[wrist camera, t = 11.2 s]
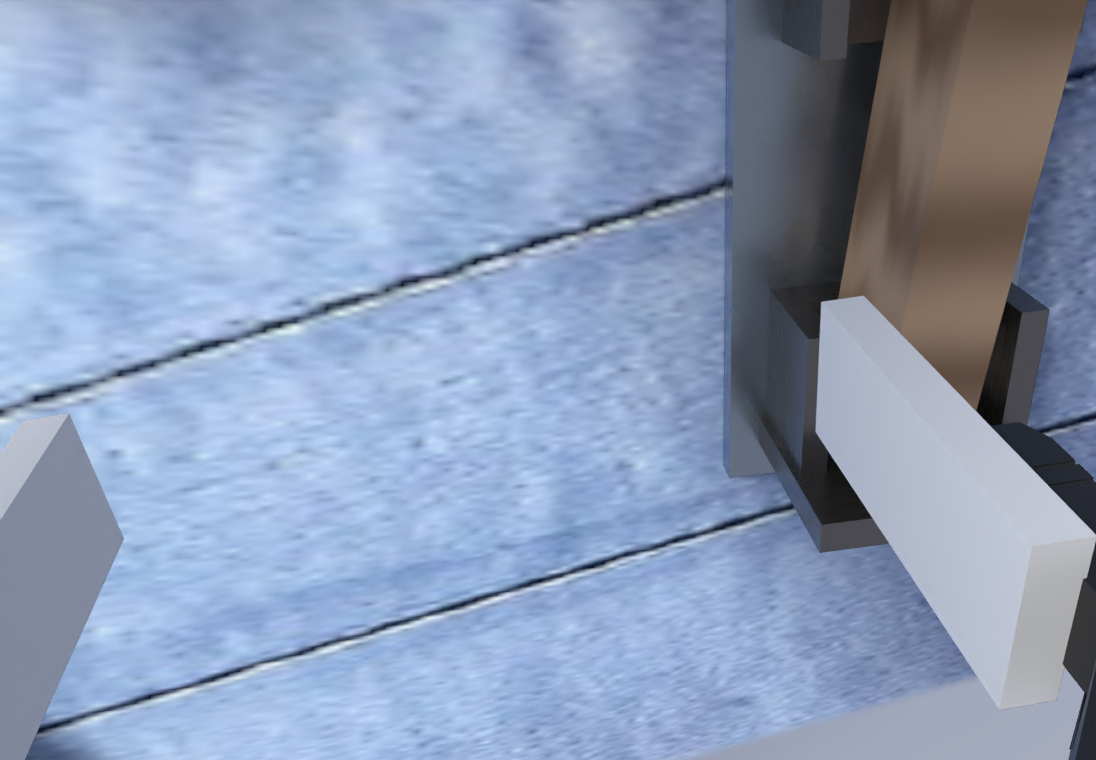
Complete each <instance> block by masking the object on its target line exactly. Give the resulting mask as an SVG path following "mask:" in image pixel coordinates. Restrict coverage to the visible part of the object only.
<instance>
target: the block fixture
mask: <svg viewBox="0 0 1096 760" xmlns="http://www.w3.org/2000/svg"><path fill="white" fill-rule="evenodd" d="M890 5H891V0H727V49H726V188H725V326H724V464H723V465H724V468H725V470H726V472H727V474H728V476H729V478H736V477H743V476H751V475H759V474H766V473H774V472H775V473H776V475H777V476H778V478H779V480H780V482H781V484H782V485H783V487H784V489H785V491H786V493H787V495H788V496H789V498H790V500H791V502H792V504H793V505H794V507H795V509H796V511H797V513H798V514H799V516H800V518H801V520H802V522H803V523H804V525H805V527H806V529H807V531H808V532H809V534H810V536H811V538H812V540H813V541H814V543H815V545H816V547H817V549H818V550H819V552H820V553H822V552H829V551H836V550H844V549H851V548H859V547H866V546H874V545H881V544H889V542H888V541H887V539H886V538H885V536H884V535H883V533H882V532H881V530H880V529H879V527H878V526H877V524H876V523H875V521H874V520H873V518H872V517H871V515H870V514H869V512H868V511H867V509H866V508H865V506H864V505H863V503H862V502H861V500H860V498H859V497H858V495H857V494H856V492H855V491H854V489H853V488H852V486H851V485H850V483H849V482H848V480H847V479H846V477H845V476H844V474H843V473H842V471H841V470H840V468H839V467H838V465H837V464H836V462H835V461H834V459H833V458H832V456H831V455H830V453H829V452H828V450H827V449H826V447H825V445H824V444H823V442H822V441H821V439H820V438H819V436H818V435H817V433H816V409H817V387H818V364H819V341H820V319H821V302H824V301H831V300H838V297H839V292H840V286H841V281H842V275H843V269H844V264H845V258H846V252H847V247H848V241H849V235H850V230H851V224H852V219H853V213H854V207H855V202H856V196H857V190H858V185H859V179H860V174H861V168H862V162H863V157H864V151H865V145H866V140H867V134H868V128H869V123H870V117H871V112H872V106H873V100H874V95H875V89H876V83H877V78H878V72H879V66H880V61H881V55H882V50H883V44H884V38H885V33H886V27H887V21H888V16H889V10H890ZM1084 14H1085V13H1084ZM1083 20H1084V17H1083ZM1083 20H1082V24H1081V28H1080V31H1079V33H1080V32H1081V31H1082V25H1083ZM1030 212H1031V211H1030ZM1029 218H1030V215H1029ZM1028 224H1029V219H1028V222H1027V226H1026V230H1025V233H1024V237H1023V241H1022V244H1021V248H1020V252H1019V255H1018V259H1017V263H1016V266H1015V270H1014V274H1013V277H1012V281H1011V285H1010V288H1009V292H1008V296H1007V299H1006V303H1005V307H1004V311H1003V314H1002V318H1001V322H1000V325H999V329H998V333H997V336H996V340H995V344H994V347H993V351H992V355H991V358H990V362H989V366H988V369H987V373H986V377H985V380H984V384H983V388H982V391H981V395H980V399H979V402H978V406H977V410H976V412H977V413H978V414H979V415H980V416H981V417H982V418H983V419H984V420H985V421H986V422H987V423H988V424H989V425H990V426H995V425H1001V424H1007V423H1014V422H1020V423H1022V424H1024V425H1026V426H1027V423H1028V418H1029V412H1030V407H1031V402H1032V397H1033V392H1034V387H1035V382H1036V377H1037V371H1038V366H1039V361H1040V356H1041V351H1042V346H1043V341H1044V336H1045V330H1046V325H1047V320H1048V315H1049V310H1050V309H1048V308H1047V307H1045V306H1044V305H1043V304H1041V303H1040V302H1038V301H1037V300H1036V299H1034V298H1033V297H1032V296H1030V295H1029V294H1027V293H1026V292H1025V291H1023V290H1022V289H1020V288H1019V287H1018V281H1019V275H1020V270H1021V264H1022V258H1023V252H1024V247H1025V241H1026V235H1027V230H1028Z"/></svg>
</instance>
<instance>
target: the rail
mask: <svg viewBox="0 0 1096 760" xmlns="http://www.w3.org/2000/svg"><path fill="white" fill-rule="evenodd" d="M1087 2H1088V0H891V5H890V10H889V16H888V21H887V27H886V33H885V38H884V44H883V50H882V55H881V61H880V66H879V72H878V78H877V83H876V89H875V95H874V100H873V106H872V112H871V117H870V123H869V128H868V134H867V140H866V145H865V151H864V157H863V162H862V168H861V174H860V179H859V185H858V190H857V196H856V202H855V207H854V213H853V219H852V224H851V230H850V235H849V241H848V247H847V252H846V258H845V264H844V269H843V275H842V281H841V286H840V292H839V297H838V299H845V298H851V297H858V296H864V297H865V298H866V299H867V300H868V301H869V302H870V303H871V304H872V305H873V306H874V307H875V308H876V309H877V310H878V311H879V312H880V313H881V314H882V315H883V316H884V317H885V318H886V319H887V320H888V321H889V322H890V323H891V324H892V325H893V326H894V327H895V328H896V329H897V331H898V332H899V333H900V334H901V335H902V336H903V337H904V338H905V339H906V340H907V341H908V342H909V343H910V344H911V345H912V346H913V347H914V348H915V349H916V350H917V351H918V352H919V353H920V354H921V355H922V356H923V357H924V358H925V359H926V360H927V361H928V362H929V363H930V364H931V366H932V367H933V368H934V369H935V370H936V371H937V372H938V373H939V374H940V375H941V376H942V377H943V378H944V379H945V380H946V381H947V382H948V383H949V384H950V385H951V386H952V387H953V388H954V389H955V390H956V391H957V392H958V393H959V394H960V395H961V396H962V397H963V398H964V399H965V401H966V402H967V403H968V404H969V405H970V406H971V407H972V408H973V409H974V410H975V411H976V410H977V406H978V402H979V399H980V395H981V391H982V388H983V384H984V380H985V377H986V373H987V369H988V366H989V362H990V358H991V355H992V351H993V347H994V344H995V340H996V336H997V333H998V329H999V325H1000V322H1001V318H1002V314H1003V311H1004V307H1005V303H1006V299H1007V296H1008V292H1009V288H1010V285H1011V281H1012V277H1013V274H1014V270H1015V266H1016V263H1017V259H1018V255H1019V252H1020V248H1021V244H1022V241H1023V237H1024V233H1025V230H1026V226H1027V222H1028V219H1029V215H1030V211H1031V208H1032V204H1033V200H1034V197H1035V193H1036V189H1037V186H1038V182H1039V178H1040V175H1041V171H1042V167H1043V164H1044V160H1045V156H1046V153H1047V149H1048V145H1049V142H1050V138H1051V134H1052V131H1053V127H1054V123H1055V119H1056V116H1057V112H1058V108H1059V105H1060V101H1061V97H1062V94H1063V90H1064V86H1065V83H1066V79H1067V75H1068V72H1069V68H1070V64H1071V61H1072V57H1073V53H1074V50H1075V46H1076V42H1077V39H1078V35H1079V31H1080V28H1081V24H1082V20H1083V17H1084V13H1085V9H1086V6H1087Z"/></svg>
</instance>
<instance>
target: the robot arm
mask: <svg viewBox="0 0 1096 760" xmlns="http://www.w3.org/2000/svg"><path fill="white" fill-rule="evenodd" d="M816 433H817V435H818V436H819V438H820V439H821V441H822V442H823V444H824V445H825V447H826V449H827V450H828V452H829V453H830V455H831V456H832V458H833V459H834V461H835V462H836V464H837V465H838V467H839V468H840V470H841V471H842V473H843V474H844V476H845V477H846V479H847V480H848V482H849V483H850V485H851V486H852V488H853V489H854V491H855V492H856V494H857V495H858V497H859V498H860V500H861V502H862V503H863V505H864V506H865V508H866V509H867V511H868V512H869V514H870V515H871V517H872V518H873V520H874V521H875V523H876V524H877V526H878V527H879V529H880V530H881V532H882V533H883V535H884V536H885V538H886V539H887V541H888V542H889V544H890V545H891V547H892V548H893V550H894V551H895V553H896V555H897V556H898V558H899V559H900V561H901V562H902V564H903V565H904V567H905V568H906V570H907V571H908V573H909V574H910V576H911V577H912V579H913V580H914V582H915V583H916V585H917V586H918V588H919V589H920V591H921V592H922V594H923V595H924V597H925V598H926V600H927V601H928V603H929V604H930V606H931V607H932V609H933V611H934V612H935V614H936V615H937V617H938V618H939V620H940V621H941V623H942V624H943V626H944V627H945V629H946V630H947V632H948V633H949V635H950V636H951V638H952V639H953V641H954V642H955V644H956V645H957V647H958V648H959V650H960V651H961V653H962V654H963V656H964V657H965V659H966V660H967V662H968V664H969V665H970V667H971V668H972V670H973V671H974V673H975V674H976V676H977V677H978V679H979V680H980V682H981V683H982V685H983V686H984V688H985V689H986V691H987V692H988V694H989V695H990V697H991V698H992V700H993V701H994V703H995V704H996V706H997V707H998V709H999V710H1003V709H1009V708H1015V707H1021V706H1027V705H1033V704H1039V703H1045V702H1051V701H1056V700H1057V697H1058V693H1059V689H1060V685H1061V681H1062V677H1063V673H1064V669H1065V668H1066V669H1067V670H1068V672H1069V673H1070V674H1071V676H1072V677H1073V678H1074V680H1075V681H1076V682H1077V683H1078V685H1079V686H1080V687H1081V688H1082V690H1083V691H1084V697H1083V700H1082V704H1081V708H1080V711H1079V716H1078V719H1077V723H1076V727H1075V730H1074V734H1073V738H1072V742H1071V745H1070V749H1071V751H1070V756H1069V760H1096V482H1094V480H1093V477H1092V476H1091V475H1090V474H1089V473H1088V472H1087V471H1086V470H1085V469H1084V468H1083V467H1082V466H1081V465H1080V464H1078V465H1076V464H1075V460H1074V459H1073V458H1072V457H1071V456H1070V455H1069V454H1068V453H1067V452H1066V451H1065V450H1064V449H1063V448H1062V447H1061V446H1060V445H1058V444H1057V443H1056V442H1055V441H1054V440H1053V439H1052V438H1050V437H1048V436H1046V435H1044V434H1042V433H1040V432H1038V431H1036V430H1034V429H1032V428H1030V427H1028V426H1026V425H1024V424H1022V423H1020V422H1014V423H1007V424H1001V425H995V426H990V425H989V424H988V423H987V422H986V421H985V420H984V419H983V418H982V417H981V416H980V415H979V414H978V413H977V412H976V411H975V410H974V409H973V408H972V407H971V406H970V405H969V404H968V403H967V402H966V401H965V399H964V398H963V397H962V396H961V395H960V394H959V393H958V392H957V391H956V390H955V389H954V388H953V387H952V386H951V385H950V384H949V383H948V382H947V381H946V380H945V379H944V378H943V377H942V376H941V375H940V374H939V373H938V372H937V371H936V370H935V369H934V368H933V367H932V366H931V364H930V363H929V362H928V361H927V360H926V359H925V358H924V357H923V356H922V355H921V354H920V353H919V352H918V351H917V350H916V349H915V348H914V347H913V346H912V345H911V344H910V343H909V342H908V341H907V340H906V339H905V338H904V337H903V336H902V335H901V334H900V333H899V332H898V331H897V329H896V328H895V327H894V326H893V325H892V324H891V323H890V322H889V321H888V320H887V319H886V318H885V317H884V316H883V315H882V314H881V313H880V312H879V311H878V310H877V309H876V308H875V307H874V306H873V305H872V304H871V303H870V302H869V301H868V300H867V299H866V298H865V297H864V296H858V297H851V298H845V299H838V300H831V301H824V302H821V319H820V341H819V364H818V387H817V409H816ZM123 539H124V538H123V535H122V533H121V531H120V528H119V526H118V524H117V522H116V519H115V517H114V515H113V513H112V510H111V508H110V506H109V503H108V501H107V499H106V497H105V494H104V492H103V490H102V488H101V485H100V483H99V481H98V478H97V476H96V474H95V472H94V469H93V467H92V465H91V462H90V460H89V458H88V456H87V453H86V451H85V449H84V447H83V444H82V442H81V440H80V437H79V435H78V433H77V431H76V428H75V426H74V424H73V422H72V419H71V417H70V415H69V414H63V415H57V416H50V417H43V418H36V419H30V420H24V421H23V422H22V423H21V425H20V426H19V428H18V429H17V430H16V432H15V433H14V435H13V436H12V437H11V439H10V440H9V442H8V443H7V444H6V446H5V447H4V448H3V450H2V451H1V453H0V760H25V758H26V756H27V754H28V751H29V749H30V747H31V745H32V742H33V740H34V738H35V736H36V733H37V731H38V729H39V727H40V725H41V722H42V720H43V718H44V716H45V713H46V711H47V709H48V707H49V704H50V702H51V700H52V698H53V696H54V693H55V691H56V689H57V687H58V684H59V682H60V680H61V678H62V675H63V673H64V671H65V669H66V667H67V664H68V662H69V660H70V658H71V655H72V653H73V651H74V649H75V646H76V644H77V642H78V640H79V638H80V635H81V633H82V631H83V629H84V626H85V624H86V622H87V620H88V617H89V615H90V613H91V611H92V609H93V606H94V604H95V602H96V600H97V597H98V595H99V593H100V591H101V588H102V586H103V584H104V582H105V579H106V577H107V575H108V573H109V571H110V568H111V566H112V564H113V562H114V559H115V557H116V555H117V553H118V550H119V548H120V546H121V544H122V542H123Z"/></svg>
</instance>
